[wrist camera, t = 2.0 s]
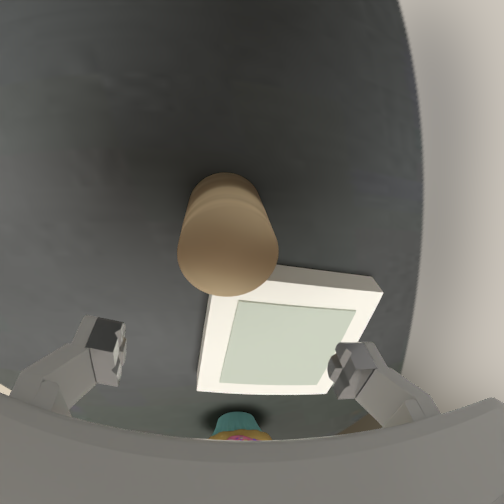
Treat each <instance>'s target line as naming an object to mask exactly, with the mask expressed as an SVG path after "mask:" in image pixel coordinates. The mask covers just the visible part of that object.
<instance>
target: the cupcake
mask: <svg viewBox="0 0 504 504" xmlns="http://www.w3.org/2000/svg"><path fill="white" fill-rule="evenodd" d="M209 439H212V440H240V441H264V440H272V439H271V437H270V436H269V435H268V434H267V433H265V432H262V431H261V429H260V428H259V426H258V424H257V423H256V421H255V419H254V417H253V416H252V415H251V414H249V413H246V412H229V413H226V414H224V415H222V416H220V417H219V419H218V422H217V425H216V428H215V430H214V433H213V434H212V436H211V437H210V438H209Z"/></svg>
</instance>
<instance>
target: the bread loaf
mask: <svg viewBox="0 0 504 504" xmlns="http://www.w3.org/2000/svg"><path fill="white" fill-rule="evenodd" d="M278 252H279V250H278V243H277V239H276V236H275V234H274V231H273V229H272V226H271V224H270V221H269V219H268V216H267V214H266V211H265V209H264V207H263V204H262V202H261V199H260V197H259V194H258V192H257V190H256V188H255V187H254V186H253V184H252V183H250V182H249V181H248V180H247V179H245V178H244V177H242V176H240V175H237V174H233V173H216V174H213V175H210V176H208V177H206V178H205V179H203V180H202V181H201V182H199V183H198V184H197V185H196V187H195V188H194V189H193V191H192V193H191V196H190V198H189V202H188V206H187V210H186V214H185V218H184V222H183V226H182V230H181V234H180V238H179V243H178V248H177V258H178V263H179V266H180V269H181V271H182V273H183V274H184V276H185V277H186V279H187V280H188V281H189V282H190V283H191V284H192V285H193V286H195V287H196V288H198V289H199V290H201V291H203V292H205V293H208V294H211V295H215V296H222V297H232V296H239V295H243V294H246V293H248V292H251V291H253V290H255V289H256V288H258V287H259V286H261V285H262V284H263V283H264V282H265V281H266V280H267V279H268V278H269V277H270V275H271V274H272V272H273V271H274V269H275V266H276V264H277V260H278Z"/></svg>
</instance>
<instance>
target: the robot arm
mask: <svg viewBox="0 0 504 504" xmlns="http://www.w3.org/2000/svg"><path fill="white" fill-rule="evenodd" d="M125 331H126V329H125V323H124V322H120V321H115V320H110V319H105V318H100V317H94V316H90V315H86V316H84V317H83V319H82V321H81V323H80V326H79V328H78V330H77V332H76V334H75V336H74V338H73V340H72V342H71V344H65V345H64V346H62V347H60V348H59V349H57V350H55V351H54V352H52V353H50V354H49V355H47V356H45V357H44V358H42V359H40V360H39V361H37V362H35V363H34V364H32V365H30V366H29V367H27V368H26V369H24V370H22V371H21V372H20V374H19V376H18V379H17V381H16V383H15V385H14V387H13V389H12V391H11V393H10V395H9V396H7V395H5V394H2V393H0V504H504V403H502V402H501V401H499V400H497V399H495V398H488V399H485V400H482V401H479V402H477V403H474V404H471V405H468V406H465V407H462V408H459V409H456V410H453V411H450V412H446V413H443V414H441V413H440V411H439V409H438V408H437V406H436V404H435V403H434V401H433V399H432V397H431V396H430V395H429V394H428V393H426V392H425V391H423V390H422V389H421V388H419V387H418V386H416V385H415V384H413V383H412V382H410V381H409V380H408V379H406V378H405V377H403V376H402V375H400V374H399V373H397V372H396V371H395V370H393V369H392V368H388V367H387V365H386V363H385V362H384V360H383V358H382V356H381V355H380V353H379V351H378V350H377V348H376V346H375V344H374V343H372V342H339V343H338V344H337V346H336V348H335V351H336V353H335V354H334V355H333V356H331V358H330V360H329V362H328V367H327V371H328V376H329V378H330V379H331V380H332V381H333V382H334V385H333V389H334V392H335V394H336V397H337V399H352V398H356V399H355V400H356V401H357V402H358V403H359V404H360V405H361V406H362V407H364V408H365V409H366V410H367V411H368V412H369V413H370V414H371V415H372V416H373V417H374V418H375V419H376V420H377V421H378V422H379V423H380V424H381V425H382V426H383V427H382V428H381V429H375V430H370V431H364V432H357V433H351V434H344V435H336V436H327V437H317V438H305V439H291V440H264V441H240V440H212V439H197V438H185V437H175V436H167V435H159V434H151V433H145V432H138V431H132V430H127V429H121V428H116V427H111V426H106V425H102V424H97V423H93V422H89V421H85V420H81V419H77V418H73V417H72V416H71V414H70V412H69V409H70V408H71V407H72V406H73V405H74V404H75V403H76V402H77V401H78V400H80V399H81V398H82V397H83V396H84V395H85V394H86V393H87V392H88V391H89V390H90V389H92V388H93V387H94V386H95V385H96V383H100V384H105V385H111V386H117V387H118V386H119V382H120V378H121V374H122V371H121V366H122V365H123V364H124V362H125V358H126V350H127V343H126V339H125V338H124V335H125Z"/></svg>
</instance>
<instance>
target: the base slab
mask: <svg viewBox="0 0 504 504" xmlns="http://www.w3.org/2000/svg"><path fill="white" fill-rule="evenodd" d="M382 295H383V291H382V290H381V289H380V287H379V286H378V284H377V283H376V282H375V280H374V279H373V278H372V277H371V276H363V275H355V274H347V273H339V272H331V271H323V270H315V269H307V268H299V267H292V266H284V265H276V266H275V269H274V271H273V272H272V274H271V275H270V277H269V278H268V279H267V280H266V281H265V282H264V283H263V284H262V285H261V286H259V287H258V288H256V289H255V290H253V291H251V292H248V293H246V294H243V295H239V296H232V297H222V296H215V295H211V294H209V298H208V304H207V310H206V317H205V323H204V329H203V336H202V342H201V349H200V356H199V362H198V369H197V391H205V392H218V393H234V394H260V395H305V394H326V393H327V392H328V390H329V389H330V387H331V386H332V384H333V381H332V380H331V379H330V378H329V376H328V371H327V367H328V362H329V360H330V358H331V356H333V355H334V354H335V353H336V351H335V348H336V346H337V344H338V343H339V342H358V340H359V338H360V337H361V335H362V333H363V331H364V329H365V328H366V326H367V324H368V322H369V320H370V318H371V316H372V314H373V312H374V310H375V309H376V307H377V305H378V303H379V301H380V299H381V297H382Z"/></svg>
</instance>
